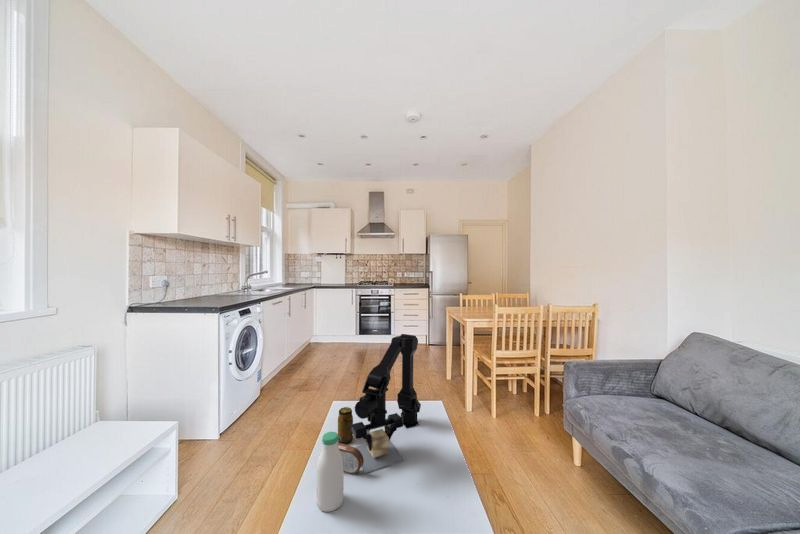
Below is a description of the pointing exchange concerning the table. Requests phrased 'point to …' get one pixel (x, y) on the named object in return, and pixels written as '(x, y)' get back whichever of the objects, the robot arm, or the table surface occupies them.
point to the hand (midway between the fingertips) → (377, 447)
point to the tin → (351, 458)
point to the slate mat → (379, 458)
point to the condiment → (345, 427)
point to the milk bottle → (330, 474)
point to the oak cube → (379, 443)
